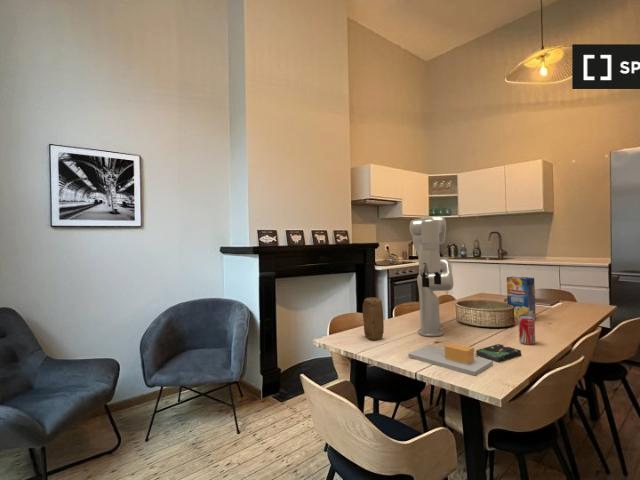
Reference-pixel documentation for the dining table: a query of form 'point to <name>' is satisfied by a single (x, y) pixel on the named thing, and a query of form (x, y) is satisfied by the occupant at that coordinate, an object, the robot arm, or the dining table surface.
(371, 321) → the block
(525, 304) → the juice carton
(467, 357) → the block
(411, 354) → the board
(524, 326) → the soda can
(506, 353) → the disk drive
